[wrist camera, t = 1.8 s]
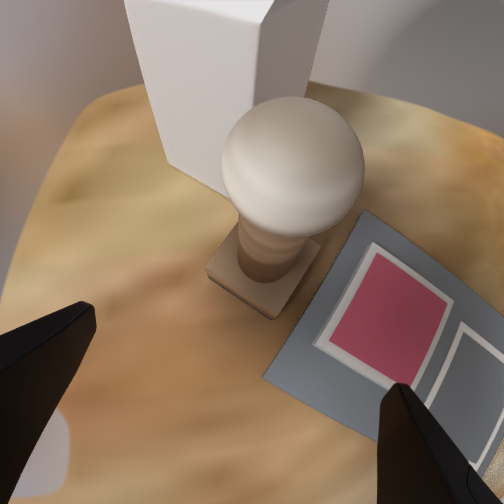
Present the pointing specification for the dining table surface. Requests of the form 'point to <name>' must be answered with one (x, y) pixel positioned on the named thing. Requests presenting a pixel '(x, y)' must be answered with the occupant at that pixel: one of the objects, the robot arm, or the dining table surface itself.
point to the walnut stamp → (283, 196)
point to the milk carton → (219, 68)
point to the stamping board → (398, 343)
